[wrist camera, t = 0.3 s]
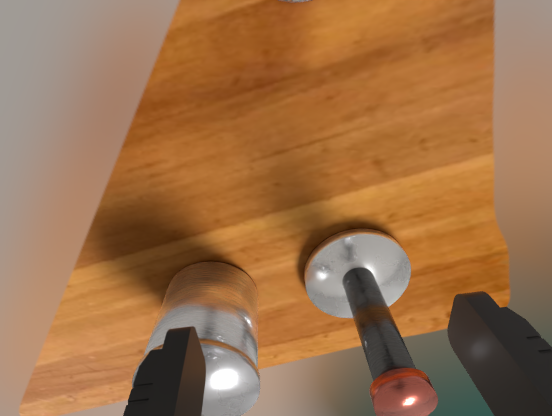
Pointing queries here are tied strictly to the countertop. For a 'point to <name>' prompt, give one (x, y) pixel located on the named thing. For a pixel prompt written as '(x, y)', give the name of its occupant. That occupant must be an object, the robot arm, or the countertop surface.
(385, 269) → the lid
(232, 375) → the pot
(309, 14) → the countertop surface
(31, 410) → the countertop surface
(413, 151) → the countertop surface
